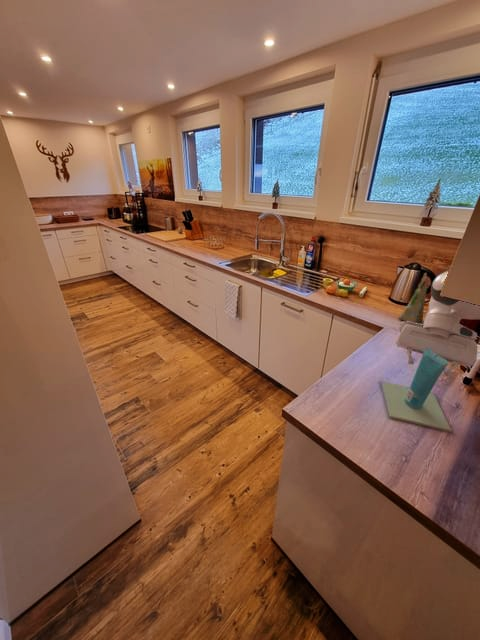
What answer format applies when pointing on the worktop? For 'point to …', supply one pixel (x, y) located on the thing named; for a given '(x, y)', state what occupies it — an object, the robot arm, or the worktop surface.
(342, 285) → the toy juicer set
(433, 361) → the tube
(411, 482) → the worktop surface
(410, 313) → the pouch
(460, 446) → the worktop surface
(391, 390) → the mat
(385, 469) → the worktop surface
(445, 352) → the robot arm
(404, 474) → the worktop surface
